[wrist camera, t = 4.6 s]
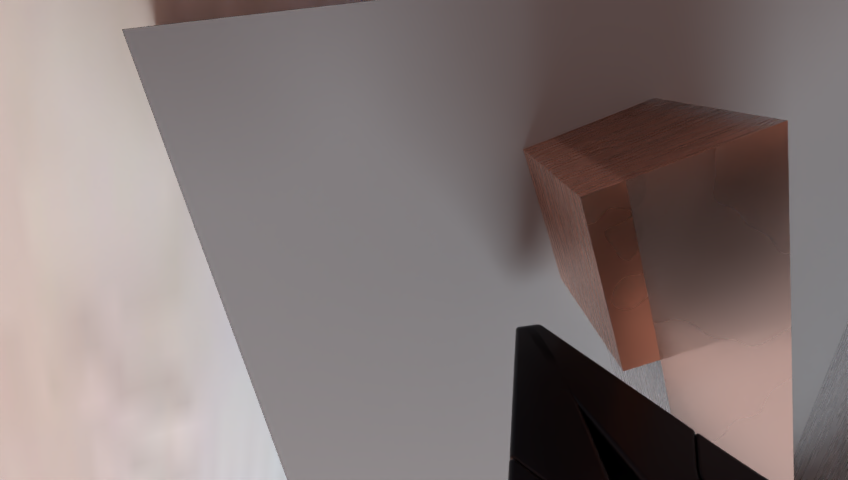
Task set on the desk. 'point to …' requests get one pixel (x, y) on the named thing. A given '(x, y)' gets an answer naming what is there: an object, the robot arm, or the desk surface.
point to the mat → (457, 196)
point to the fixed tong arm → (827, 425)
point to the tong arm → (683, 263)
